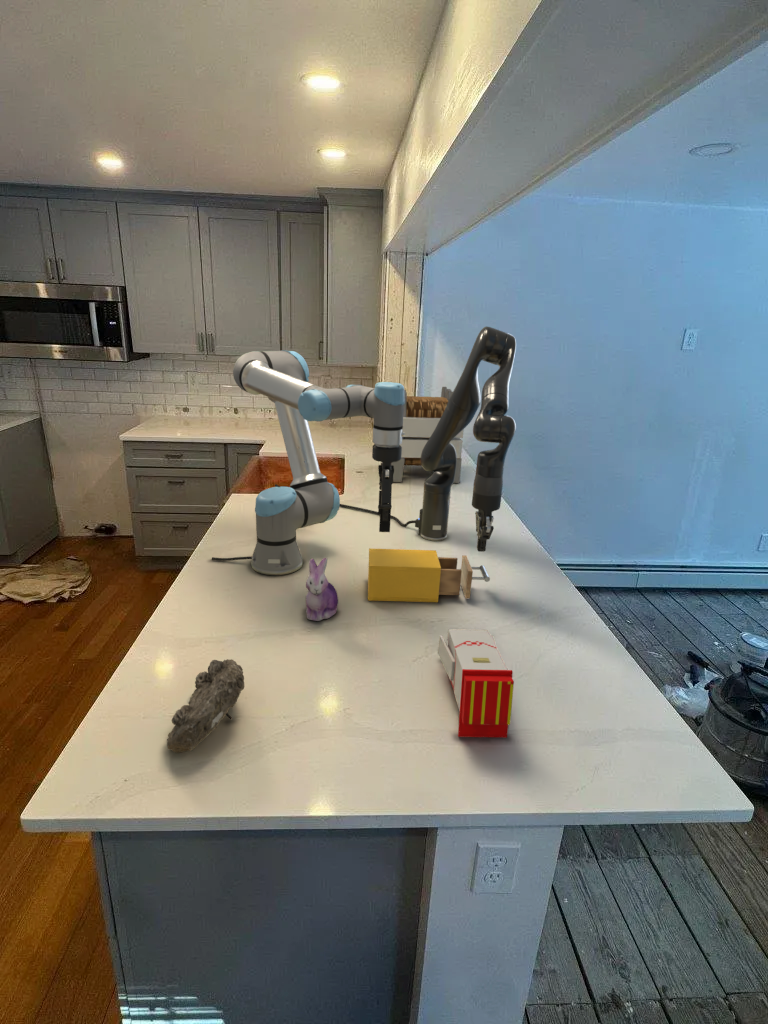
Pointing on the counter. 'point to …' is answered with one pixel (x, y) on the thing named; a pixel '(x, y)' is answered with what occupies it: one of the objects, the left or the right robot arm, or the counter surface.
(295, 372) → the left robot arm
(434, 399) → the grey crate
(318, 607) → the figurine
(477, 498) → the right robot arm
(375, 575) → the cabinet
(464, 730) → the toy
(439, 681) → the counter surface
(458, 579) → the drawer
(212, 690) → the fossil
